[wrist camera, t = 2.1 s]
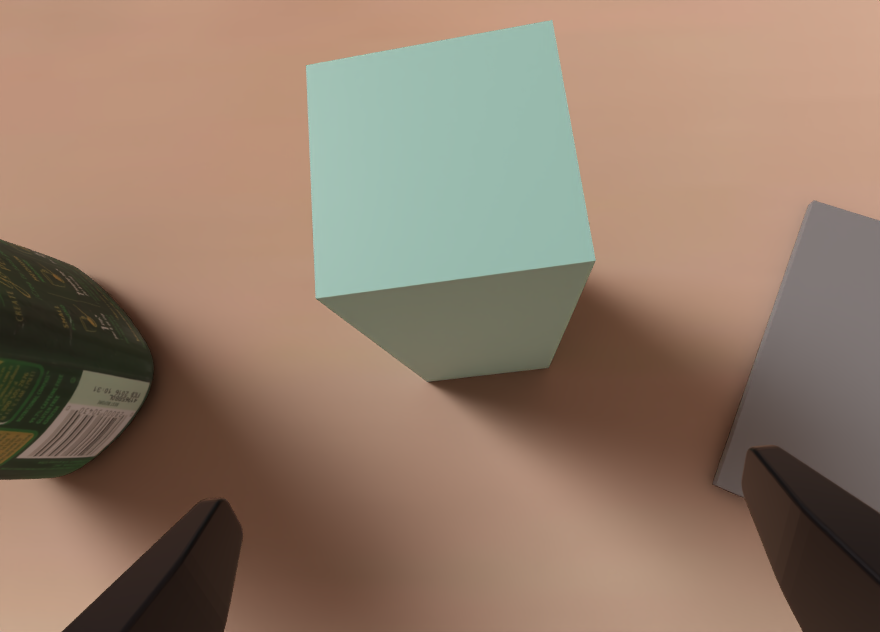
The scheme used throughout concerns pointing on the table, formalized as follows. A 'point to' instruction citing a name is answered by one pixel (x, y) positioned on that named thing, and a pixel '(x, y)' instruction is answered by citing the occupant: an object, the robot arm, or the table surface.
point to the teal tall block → (450, 201)
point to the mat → (819, 360)
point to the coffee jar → (62, 366)
